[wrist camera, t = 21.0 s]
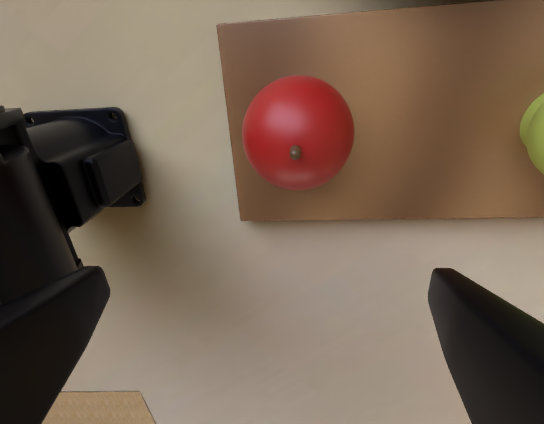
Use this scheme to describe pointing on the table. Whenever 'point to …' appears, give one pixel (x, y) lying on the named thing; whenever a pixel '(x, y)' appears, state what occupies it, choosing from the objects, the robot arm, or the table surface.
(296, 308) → the table surface
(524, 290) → the table surface
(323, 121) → the apple
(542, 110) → the pear
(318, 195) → the cutting board
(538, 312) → the table surface
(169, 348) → the table surface
